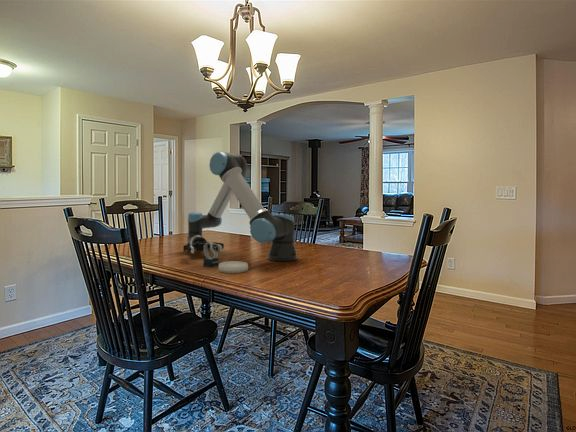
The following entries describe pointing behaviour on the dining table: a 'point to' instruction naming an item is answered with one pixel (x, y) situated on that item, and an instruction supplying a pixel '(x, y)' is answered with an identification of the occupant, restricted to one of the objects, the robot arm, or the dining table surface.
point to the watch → (210, 260)
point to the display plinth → (233, 267)
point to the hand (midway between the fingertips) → (207, 249)
